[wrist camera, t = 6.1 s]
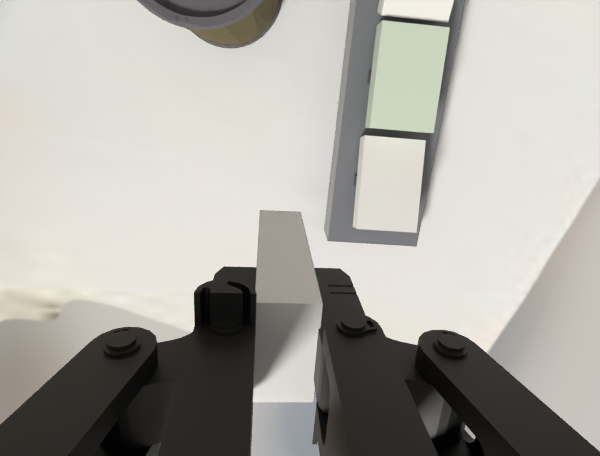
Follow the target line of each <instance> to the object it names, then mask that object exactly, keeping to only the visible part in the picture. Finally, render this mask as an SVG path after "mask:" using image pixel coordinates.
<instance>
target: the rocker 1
mask: <svg viewBox="0 0 600 456" xmlns="http://www.w3.org/2000/svg"><path fill="white" fill-rule="evenodd" d="M453 2H454V0H379V5H378V10H377V13H379V14H380V15H383V16H392V17H402V18H411V19H420V20H429V21H439V22H448V21H449V17H450V13H451V9H452V6H453Z"/></svg>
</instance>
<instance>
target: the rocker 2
mask: <svg viewBox="0 0 600 456" xmlns="http://www.w3.org/2000/svg"><path fill="white" fill-rule="evenodd" d="M425 144H426V140H416V139H404V138H392V137H380V136H368V135H364V136H362V137H360V146H359V158H358V170H357V182H356V193H355V205H354V217H353V227H354V228H356V229H366V230H381V231H397V232H412V233H417V224H418V214H419V204H420V194H421V184H422V174H423V164H424V154H425Z"/></svg>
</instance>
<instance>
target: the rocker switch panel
mask: <svg viewBox="0 0 600 456" xmlns="http://www.w3.org/2000/svg"><path fill="white" fill-rule="evenodd" d="M464 3H465V0H454V2H453V6H452V9H451V13H450V17H449V21H448V22H439V21H429V20H420V19H411V18H402V17H392V16H383V15H380V14H379V13H377V10H378V5H379V0H350V9H349V17H348V26H347V35H346V44H345V52H344V61H343V70H342V79H341V87H340V96H339V105H338V114H337V122H336V131H335V140H334V148H333V157H332V166H331V175H330V183H329V192H328V201H327V210H326V218H325V227H324V231H325V234H326V237H327V240H328V241H337V242H354V243H370V244H386V245H402V246H417V241H418V236H419V231H420V226H421V221H422V216H423V211H424V206H425V201H426V196H427V191H428V185H429V180H430V175H431V170H432V165H433V160H434V155H435V150H436V145H437V140H438V135H439V130H440V125H441V120H442V114H443V109H444V104H445V99H446V94H447V89H448V84H449V79H450V74H451V69H452V64H453V59H454V54H455V48H456V43H457V38H458V33H459V28H460V23H461V18H462V13H463V8H464ZM382 20H385V21H394V22H403V23H413V24H422V25H431V26H441V27H450V30H449V37H448V43H447V49H446V56H445V62H444V69H443V75H442V82H441V88H440V95H439V101H438V108H437V114H436V121H435V127H434V133H423V132H411V131H399V130H387V129H376V128H365V123H366V114H367V106H368V97H369V89H370V80H371V71H372V63H373V54H374V45H375V37H376V28H377V25H378V24H379V23H380V22H381V21H382ZM364 135H368V136H380V137H392V138H404V139H416V140H426V144H425V154H424V164H423V174H422V184H421V194H420V204H419V214H418V224H417V233H412V232H397V231H381V230H366V229H356V228H354V227H353V217H354V205H355V193H356V182H357V170H358V158H359V146H360V137H362V136H364Z"/></svg>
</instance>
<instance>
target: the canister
mask: <svg viewBox="0 0 600 456" xmlns="http://www.w3.org/2000/svg"><path fill="white" fill-rule="evenodd" d="M137 1H138V2H140V3H141V4H142V5H143V6H144V7H145V8H147V9H148V10H149V11H150V12H152V13H153V14H155V15H156V16H158V17H160V18H161V19H163V20H165V21H167V22H170V23H172V24H174V25H177V26H180V27H185V28H187V29H188V30H190V31H192V32H193V33H194V34H195V35H197V36H198V37H199V38H201V39H202V40H204V41H206V42H207V43H209V44H212V45H215V46H218V47H222V48H239V47H244V46H246V45H249V44H251V43H253V42H255V41H257V40H258V39H260V38H261V37H262V36H263V35H264V34H265V33H266V32H267V31H268V30H269V29H270V27H271V26H272V25H273V23H274V21H275V19H276V17H277V15H278V12H279V9H280V6H281V0H137Z"/></svg>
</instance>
